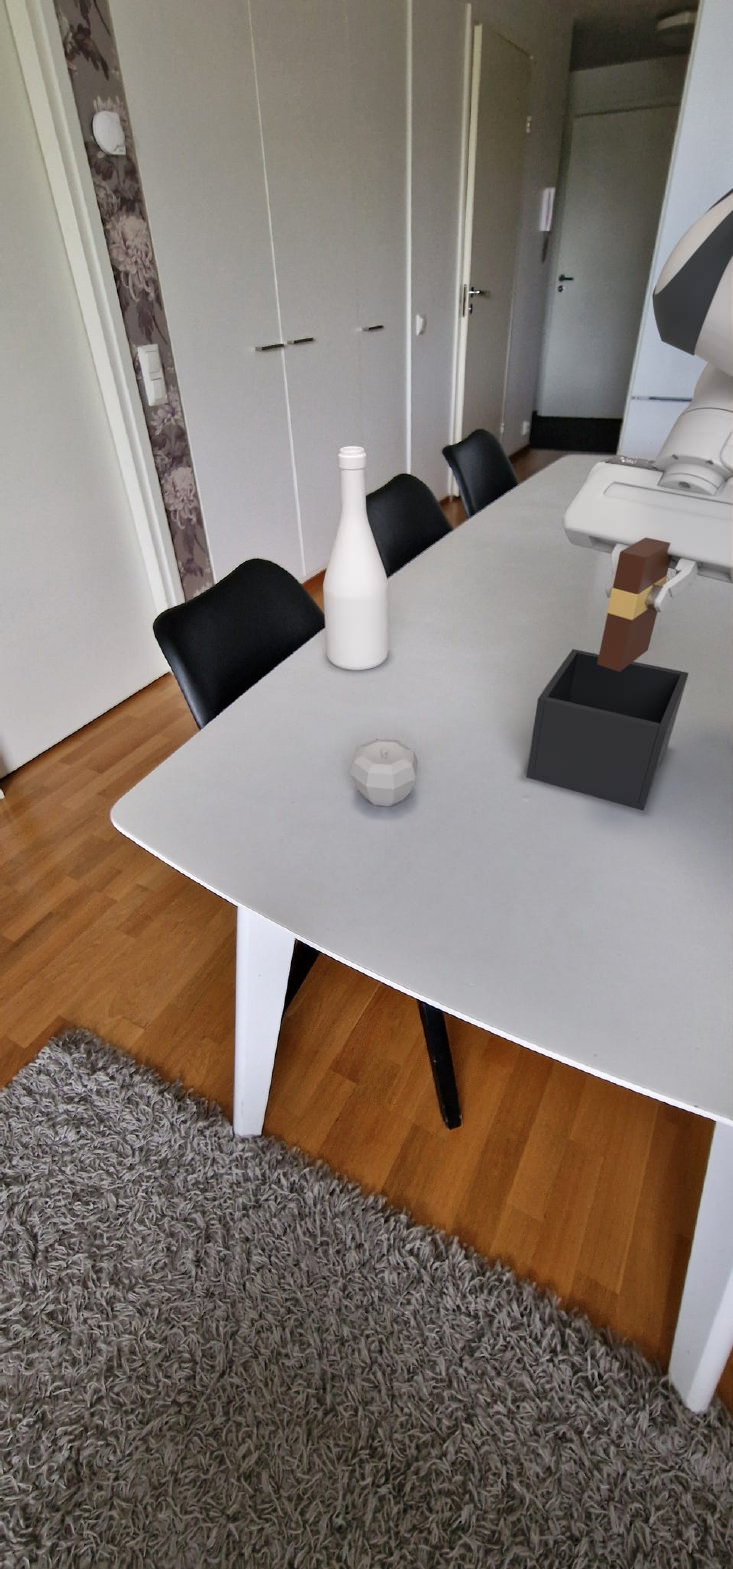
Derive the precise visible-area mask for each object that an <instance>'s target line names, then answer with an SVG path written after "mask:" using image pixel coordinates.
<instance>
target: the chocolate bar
mask: <svg viewBox="0 0 733 1569" xmlns="http://www.w3.org/2000/svg"><path fill="white" fill-rule="evenodd" d="M669 546H670V543H669V542H664V541H660V540H655V539H651V538H647V537H646V538H644V539H642V540H640V541H638V542H637V543H635V544H633V545H631V546H629V547H628V548H626V549H624V550H622V551H621V552H620V556H619V560H618V565H617V570H616V575H615V580H614V585H613V588H612V590H611V595H610V598H609V600H608V606H607V611H606V614H607V615H606V619H605V624H604V629H603V634H602V639H601V643H600V647H599V648H600V649H599V653H598V654H599V657H598V662H597V664H598V665H601V666H604V667H607V668H610V669H613V670H616V671H619V672H620V671H622V670H623V669H624V668H625V667H627V666H628V665H629V664H631V663H632V662H633V661H634V662H636V660H637V659H639V658H640V657H641V656H643V655H644V654H645V653H646V652H647V651H649V647H650V643H651V639H652V635H653V631H654V627H655V624H656V619H657V614H658V612H657V611H654V610H651V609H648V608H646V605H645V600H646V597H647V595H648V594H650V590H651V588H652V586H653V584H654V585H658V586H662V585H664V584H665V583H666V582H667V578H668V572H669V569H670V568H669V564H670V560H671V556H672V555H668V553H667V551H668V548H669Z"/></svg>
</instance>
